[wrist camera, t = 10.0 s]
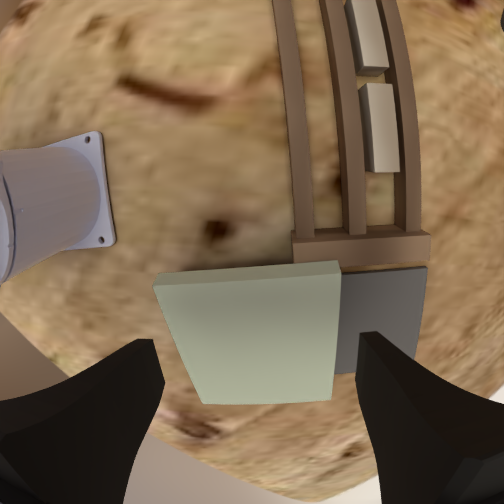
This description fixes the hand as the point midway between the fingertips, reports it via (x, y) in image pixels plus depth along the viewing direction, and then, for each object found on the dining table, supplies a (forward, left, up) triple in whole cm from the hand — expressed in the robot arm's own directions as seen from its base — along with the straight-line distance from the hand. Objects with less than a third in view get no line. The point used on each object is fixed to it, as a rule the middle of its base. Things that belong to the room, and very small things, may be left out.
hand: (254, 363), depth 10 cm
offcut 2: (+7, +8, -11) cm, 15 cm away
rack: (+6, +11, -10) cm, 16 cm away
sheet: (+4, -5, -8) cm, 10 cm away
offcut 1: (+7, +14, -11) cm, 19 cm away
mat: (+5, -5, -10) cm, 12 cm away
